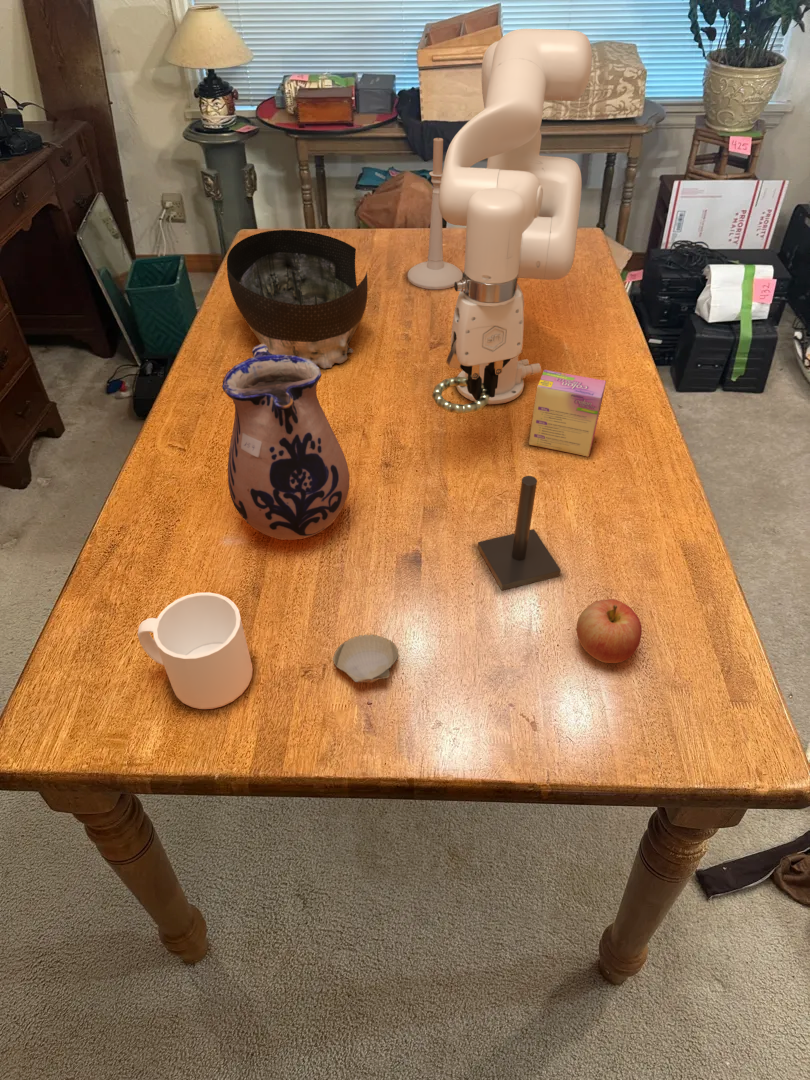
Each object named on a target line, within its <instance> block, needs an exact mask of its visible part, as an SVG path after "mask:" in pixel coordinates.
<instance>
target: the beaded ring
mask: <svg viewBox="0 0 810 1080" xmlns="http://www.w3.org/2000/svg"><path fill="white" fill-rule="evenodd" d="M467 382H468V378H467V377H457V376H455V377H449V378H445V379H444V380H442V381H440V382H439V383H437V384H436V385H435V386H434V389H433V391H432V394H431V397H432V399H433V401H434V402H435V404H436V406H437V407H439V408H440V409H442V410H444V411H447V412H448V413H452V414H460V415H465V414H470V413H471V414H472V413H475V412H478V411H480V410H481V409H483V408H485V407H486V406H487V405H489V404H488V401H489V396H490V392H489V390H488V389H487V388H486V386H485V385H484V384H483V383H482V386H481V396H480V399H478V400H477V401H475V402H474V401H473V402H469V403H465V404H461V403H454V402H453V403H452V402H450V401H449V400H447V399H445V398H444V396H443V392H444V391H446V390H447V389H449V388H453V387H456V386H467Z"/></svg>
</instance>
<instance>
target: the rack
mask: <svg viewBox="0 0 810 1080" xmlns="http://www.w3.org/2000/svg"><path fill="white" fill-rule="evenodd" d="M537 485H538V479H537V478H536V477H535V476H533V475H525V476H523V477H522V478H521V483H520V489H519V490H520V491H519V496H518V497H519V498H518V505H517V513H516V519H515V526H514V527H515V528H514V533H511V534H507V535H502V536H499V537H498V536H497V537H494V538H490V539H485V540H481V541H478V542H477V549H478V551H479V553H480V554H481V556H482V558H483V560H484V561H485V563H486V565H487V567H488V569H489V570H490V573H491V574H492V575H493V576H492V577H494V579H495V581H496V583H497V585H498V586H499V588H500V590H501V591H505V590H508V589H513V588H517V587H520V586H524V585H525V586H526V585H528V584H532V583H536V582H541V581H544V580H548V579H553V578H556V577H559V576H561V572H562V570H561V568H560V566H559V565H558V564H557V562H556V560H555V559H554V557H553V556H552V554H551V553H550V551H549V550H548V548H547V547H546V545H545V544H544V542H543V540H542V539H541V538H540V536H539V535H538V532H537V531H536V530H535V529H534V528H532V529H531V524H532V517H533V511H534V504H535V498H536V491H537Z"/></svg>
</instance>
